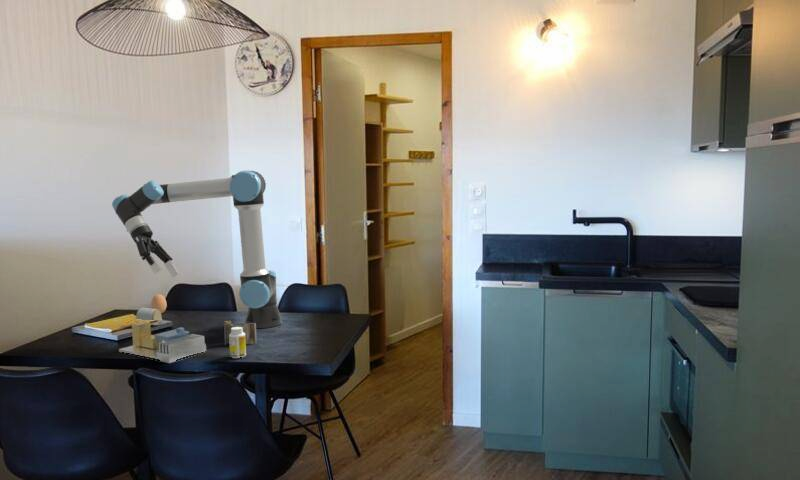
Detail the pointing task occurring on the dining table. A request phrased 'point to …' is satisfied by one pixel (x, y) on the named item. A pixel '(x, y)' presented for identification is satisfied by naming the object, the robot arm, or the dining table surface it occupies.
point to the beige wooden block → (144, 335)
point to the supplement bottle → (237, 342)
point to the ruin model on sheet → (247, 329)
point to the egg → (159, 303)
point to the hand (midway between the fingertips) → (167, 273)
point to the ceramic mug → (148, 314)
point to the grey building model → (171, 346)
